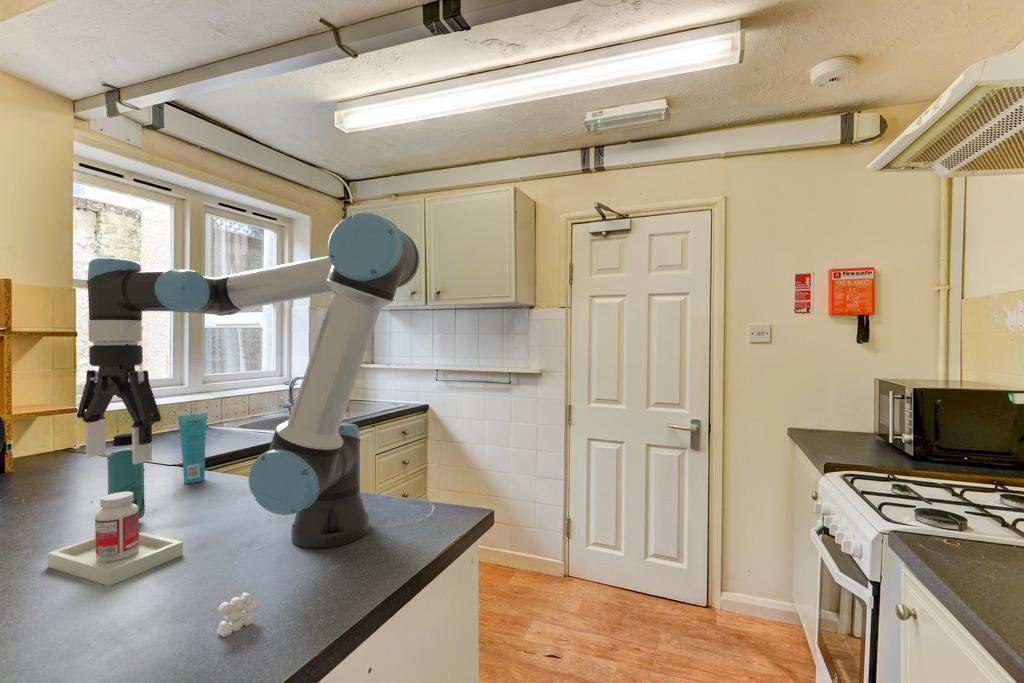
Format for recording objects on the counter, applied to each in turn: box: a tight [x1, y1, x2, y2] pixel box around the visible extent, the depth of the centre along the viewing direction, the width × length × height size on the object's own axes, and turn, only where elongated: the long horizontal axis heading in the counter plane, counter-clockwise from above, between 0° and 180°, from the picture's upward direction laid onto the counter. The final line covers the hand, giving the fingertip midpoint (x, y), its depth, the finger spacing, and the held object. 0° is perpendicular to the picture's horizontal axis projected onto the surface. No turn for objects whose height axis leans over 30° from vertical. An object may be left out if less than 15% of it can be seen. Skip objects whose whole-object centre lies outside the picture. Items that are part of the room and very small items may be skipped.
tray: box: [47, 531, 184, 587], centre depth 87 cm, size 18×12×2 cm, turn 68°
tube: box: [177, 412, 208, 484], centre depth 135 cm, size 7×5×19 cm, turn 152°
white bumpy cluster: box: [216, 592, 259, 638], centre depth 67 cm, size 5×1×4 cm, turn 148°
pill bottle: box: [94, 492, 140, 562], centre depth 87 cm, size 6×6×11 cm
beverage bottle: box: [106, 433, 146, 520], centre depth 103 cm, size 6×7×20 cm
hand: (118, 459), depth 87 cm, fingers open, 13 cm apart
